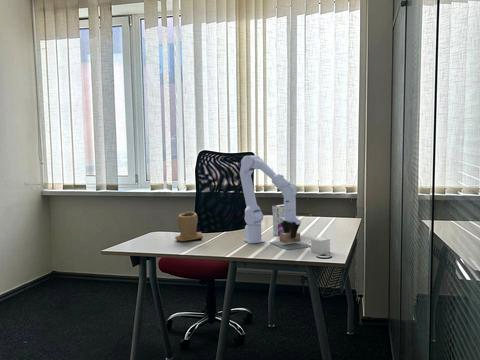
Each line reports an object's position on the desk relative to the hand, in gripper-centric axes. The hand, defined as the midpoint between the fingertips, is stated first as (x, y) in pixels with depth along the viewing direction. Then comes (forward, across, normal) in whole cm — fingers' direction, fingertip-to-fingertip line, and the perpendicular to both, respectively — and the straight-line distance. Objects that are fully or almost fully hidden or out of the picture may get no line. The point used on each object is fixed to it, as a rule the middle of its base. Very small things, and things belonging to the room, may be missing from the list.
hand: (290, 237), depth 223 cm
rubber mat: (+4, 0, 0) cm, 4 cm away
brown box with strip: (+2, 0, 0) cm, 2 cm away
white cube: (+4, +19, +3) cm, 20 cm away
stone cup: (+4, -41, -35) cm, 54 cm away
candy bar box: (+4, -25, +13) cm, 28 cm away
